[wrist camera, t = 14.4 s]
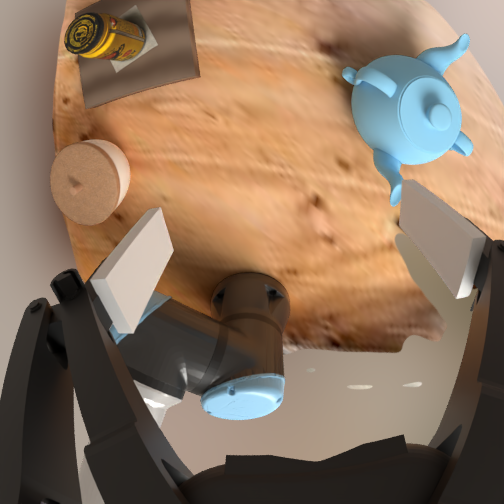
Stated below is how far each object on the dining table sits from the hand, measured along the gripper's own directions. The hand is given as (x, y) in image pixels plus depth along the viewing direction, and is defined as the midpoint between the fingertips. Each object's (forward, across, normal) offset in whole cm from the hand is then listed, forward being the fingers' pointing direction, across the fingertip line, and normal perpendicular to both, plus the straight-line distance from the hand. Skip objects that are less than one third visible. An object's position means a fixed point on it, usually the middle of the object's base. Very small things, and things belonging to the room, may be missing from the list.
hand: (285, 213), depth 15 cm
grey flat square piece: (+28, +17, -20) cm, 39 cm away
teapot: (+28, -19, -4) cm, 35 cm away
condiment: (+26, +18, -20) cm, 37 cm away
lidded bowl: (+29, +27, 0) cm, 39 cm away
